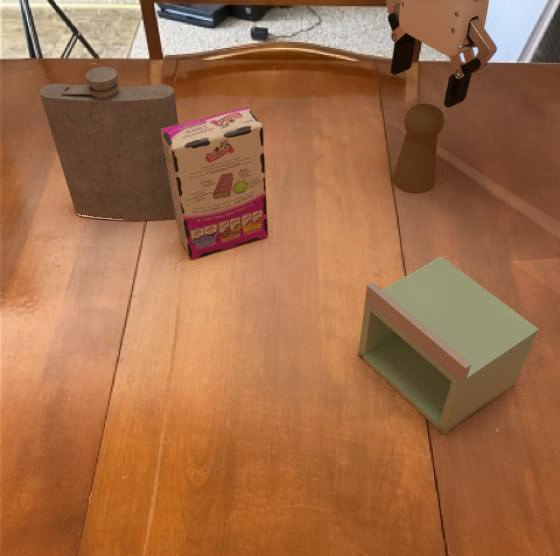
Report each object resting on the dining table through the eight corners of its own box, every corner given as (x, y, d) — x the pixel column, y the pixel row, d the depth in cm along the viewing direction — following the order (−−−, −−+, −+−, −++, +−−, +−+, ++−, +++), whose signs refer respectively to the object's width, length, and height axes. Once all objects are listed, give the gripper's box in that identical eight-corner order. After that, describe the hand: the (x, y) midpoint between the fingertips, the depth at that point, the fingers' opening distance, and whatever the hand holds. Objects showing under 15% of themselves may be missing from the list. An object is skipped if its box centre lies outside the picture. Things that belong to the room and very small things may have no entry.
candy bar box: (254, 216, 93) (249, 104, 80) (269, 237, 90) (266, 125, 77) (176, 238, 90) (158, 126, 77) (189, 261, 87) (172, 148, 74)
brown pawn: (439, 191, 96) (454, 120, 87) (397, 194, 96) (407, 123, 87) (429, 166, 100) (443, 96, 91) (389, 168, 99) (398, 98, 91)
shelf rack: (427, 312, 81) (444, 241, 73) (515, 384, 74) (545, 315, 66) (357, 355, 77) (366, 284, 69) (443, 435, 70) (465, 368, 62)
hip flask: (191, 204, 95) (172, 63, 79) (188, 223, 92) (168, 81, 76) (78, 202, 95) (37, 62, 79) (71, 221, 92) (28, 80, 77)
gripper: (540, -45, 71) (497, 107, 84) (423, -94, 79) (401, 51, 93) (490, -28, 68) (454, 127, 81) (375, -80, 76) (360, 68, 90)
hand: (426, 86), depth 87 cm, fingers open, 9 cm apart
